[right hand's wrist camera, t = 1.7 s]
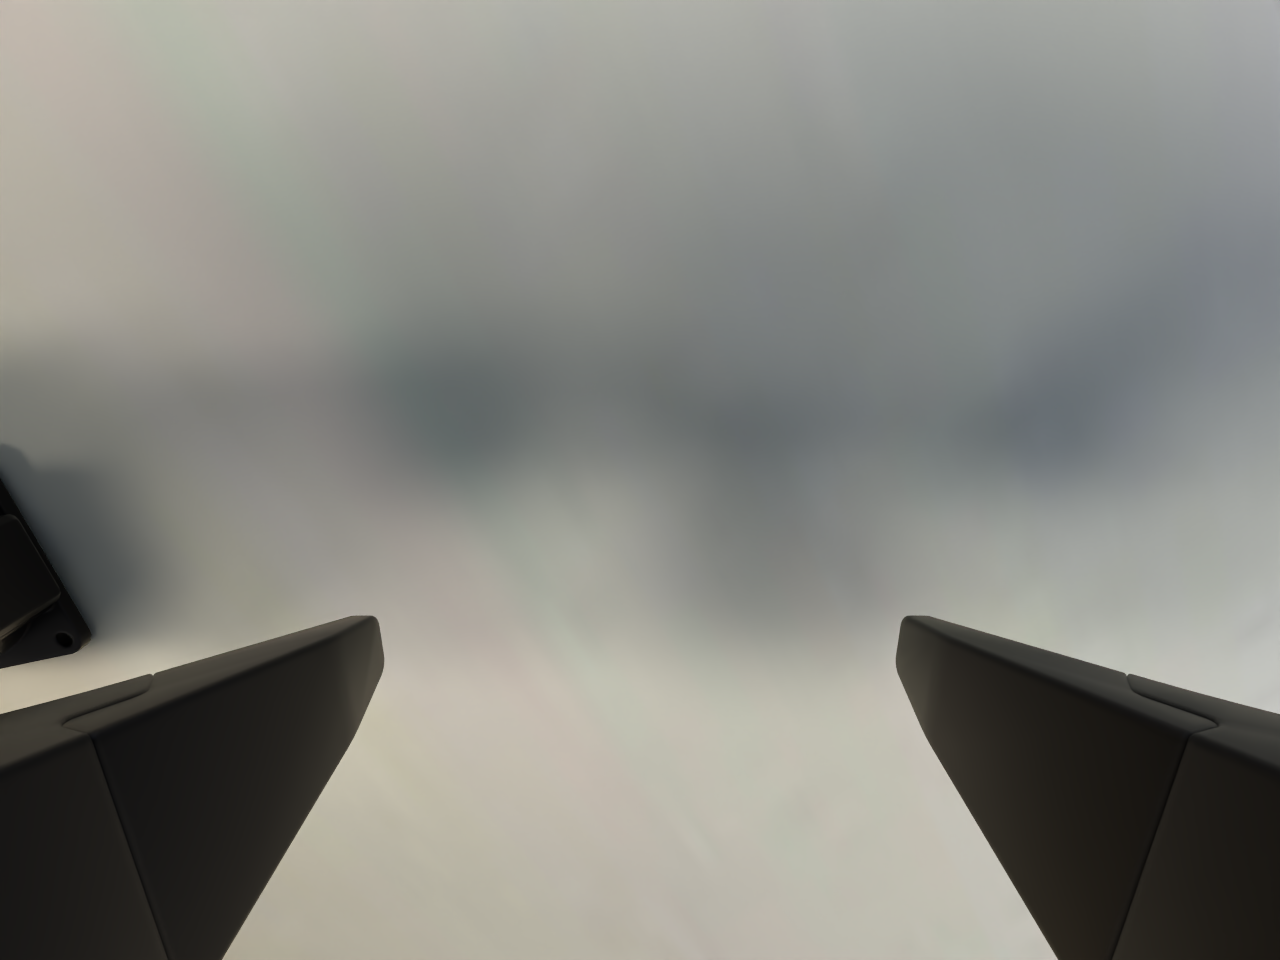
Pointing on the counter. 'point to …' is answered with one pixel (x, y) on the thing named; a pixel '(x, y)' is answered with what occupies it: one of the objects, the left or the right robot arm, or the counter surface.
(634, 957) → the counter surface
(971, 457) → the counter surface
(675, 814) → the counter surface
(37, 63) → the counter surface
